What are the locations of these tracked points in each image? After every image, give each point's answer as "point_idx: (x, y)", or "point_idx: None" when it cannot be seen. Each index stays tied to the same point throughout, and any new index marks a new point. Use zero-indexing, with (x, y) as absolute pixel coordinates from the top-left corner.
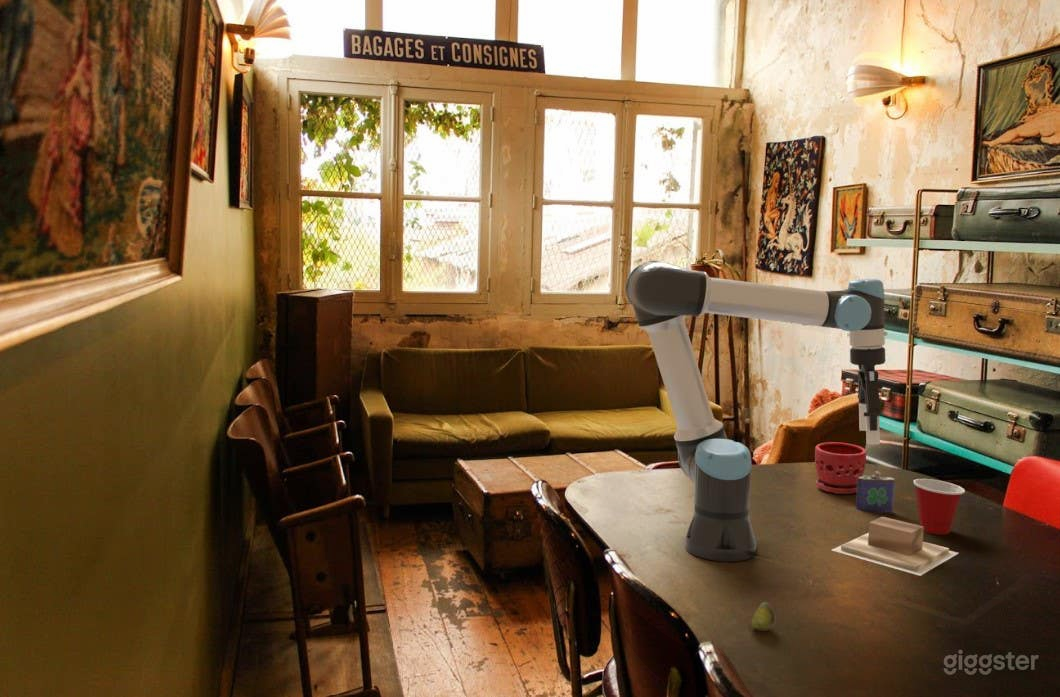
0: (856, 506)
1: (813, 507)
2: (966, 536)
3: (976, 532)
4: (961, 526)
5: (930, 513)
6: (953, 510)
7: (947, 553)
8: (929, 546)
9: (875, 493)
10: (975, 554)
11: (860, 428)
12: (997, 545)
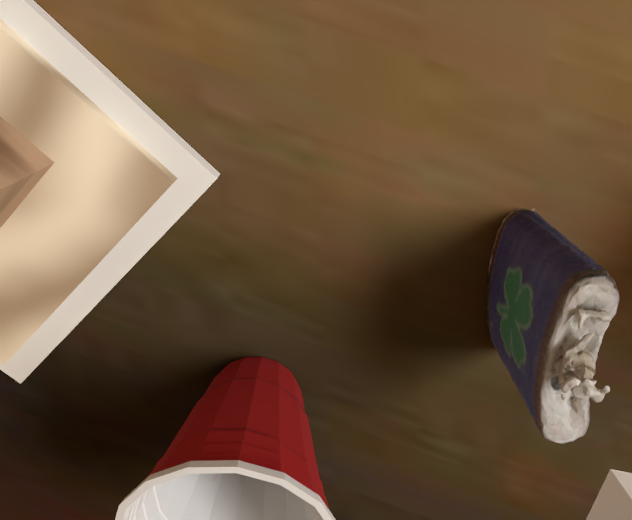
0: (532, 216)
1: (623, 21)
2: None
3: None
4: (348, 494)
5: (189, 419)
6: (185, 500)
7: None
8: (4, 309)
9: (519, 316)
10: (74, 430)
11: (625, 497)
12: None
